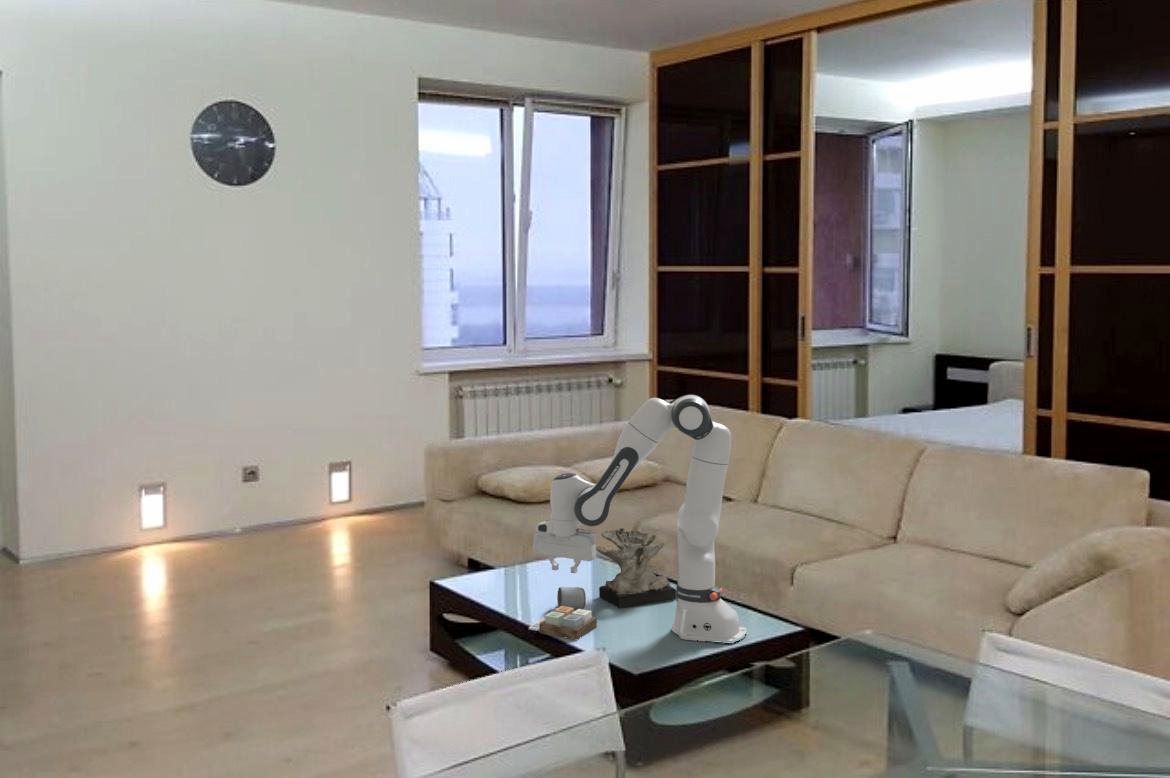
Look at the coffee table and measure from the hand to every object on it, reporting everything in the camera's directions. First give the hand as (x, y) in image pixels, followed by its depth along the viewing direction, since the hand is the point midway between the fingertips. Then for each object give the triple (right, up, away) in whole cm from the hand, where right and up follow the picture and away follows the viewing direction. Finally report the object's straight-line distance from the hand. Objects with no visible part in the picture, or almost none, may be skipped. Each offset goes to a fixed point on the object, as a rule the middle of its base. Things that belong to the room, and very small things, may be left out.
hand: (564, 571), depth 352 cm
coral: (+21, -14, +32) cm, 40 cm away
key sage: (-3, -16, -3) cm, 16 cm away
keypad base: (+1, -18, -2) cm, 18 cm away
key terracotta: (0, -15, +2) cm, 15 cm away
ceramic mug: (+1, -15, +19) cm, 24 cm away
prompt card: (-7, -17, +2) cm, 19 cm away
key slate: (+3, -16, -6) cm, 17 cm away
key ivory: (+5, -16, -1) cm, 17 cm away
